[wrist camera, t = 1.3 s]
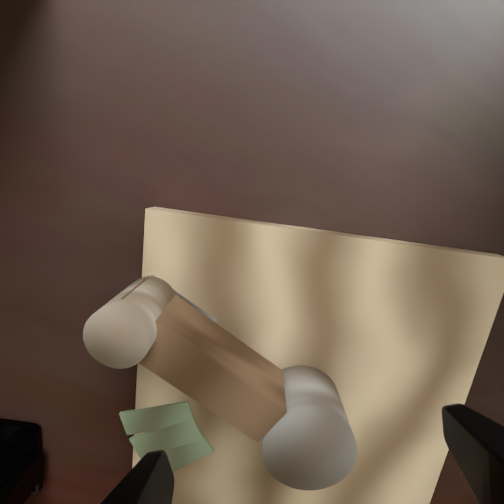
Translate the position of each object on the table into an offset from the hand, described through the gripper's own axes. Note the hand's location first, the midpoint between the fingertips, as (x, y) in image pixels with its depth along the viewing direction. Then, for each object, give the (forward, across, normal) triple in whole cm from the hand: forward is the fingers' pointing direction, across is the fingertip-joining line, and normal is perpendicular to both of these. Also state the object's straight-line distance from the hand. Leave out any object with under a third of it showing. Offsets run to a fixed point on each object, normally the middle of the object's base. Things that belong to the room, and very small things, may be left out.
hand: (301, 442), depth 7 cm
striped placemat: (+13, 0, +8) cm, 15 cm away
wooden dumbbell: (+11, +3, +4) cm, 12 cm away
